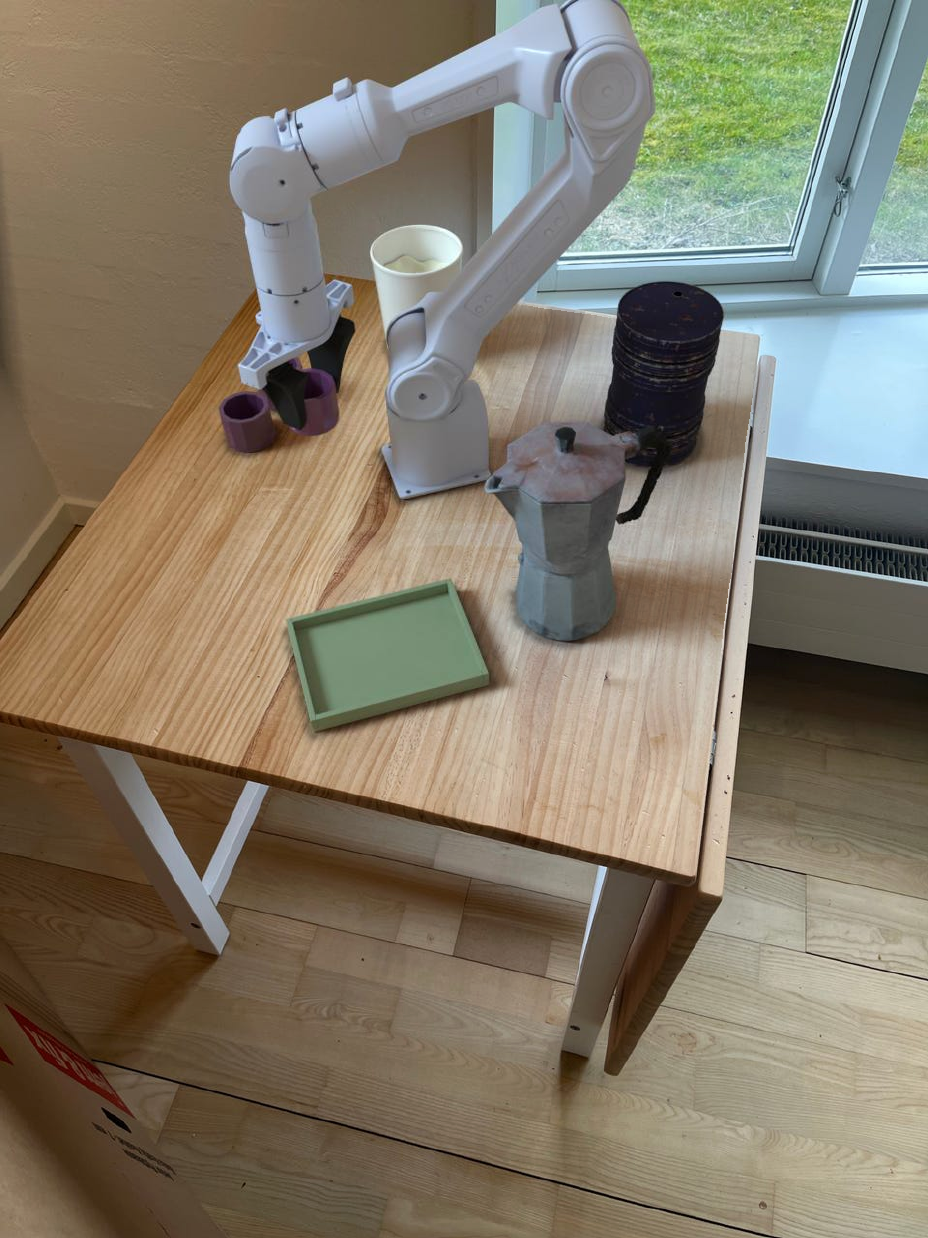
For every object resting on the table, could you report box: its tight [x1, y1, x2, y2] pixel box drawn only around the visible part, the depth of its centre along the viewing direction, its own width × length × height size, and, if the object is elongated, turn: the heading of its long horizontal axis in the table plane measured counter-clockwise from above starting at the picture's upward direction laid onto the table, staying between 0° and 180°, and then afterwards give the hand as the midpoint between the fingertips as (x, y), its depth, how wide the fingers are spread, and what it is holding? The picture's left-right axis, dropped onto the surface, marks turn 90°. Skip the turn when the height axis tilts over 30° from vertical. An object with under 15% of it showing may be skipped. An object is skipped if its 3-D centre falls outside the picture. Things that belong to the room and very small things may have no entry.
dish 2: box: [288, 367, 340, 437], centre depth 89 cm, size 5×5×4 cm
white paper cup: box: [369, 224, 464, 349], centre depth 105 cm, size 10×10×12 cm
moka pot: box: [483, 421, 673, 642], centre depth 77 cm, size 10×15×20 cm, turn 113°
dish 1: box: [218, 390, 276, 453], centre depth 98 cm, size 5×5×4 cm
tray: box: [285, 577, 490, 733], centre depth 81 cm, size 15×11×2 cm
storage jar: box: [602, 280, 725, 469], centre depth 93 cm, size 10×10×15 cm
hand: (311, 407), depth 90 cm, fingers closed on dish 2, 5 cm apart
